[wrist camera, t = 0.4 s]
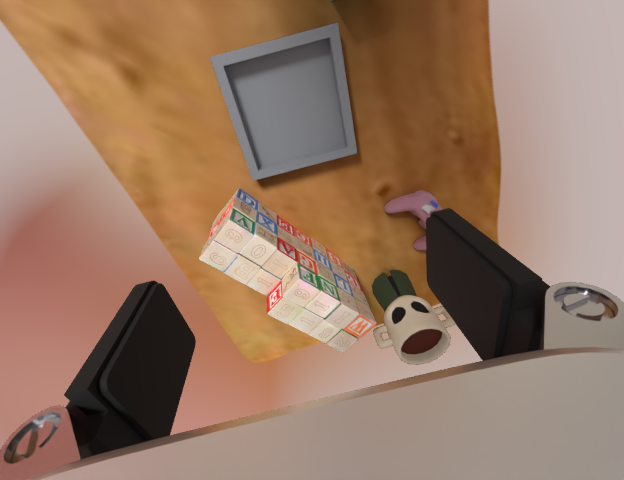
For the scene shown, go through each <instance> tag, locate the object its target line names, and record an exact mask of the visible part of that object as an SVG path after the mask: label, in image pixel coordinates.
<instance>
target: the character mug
mask: <svg viewBox="0 0 624 480" xmlns="http://www.w3.org/2000/svg"><path fill="white" fill-rule="evenodd" d="M390 273H391V275H392V276H389V277H386V275H385V273H382V274H381V275H380V276H378V277H377V278H376V279H375V281H374V283H373V285H372V289H373V294H374V296H375V298H376V299H377V301H378V302H379V304H380V305H381V306H382V308H383V309H384V311H385V313H384V326H381V327H378V328H376V329H374V331H373V334H374V337H375V339H376V342H377V345H378V346H379V347H380V348H386V347H389V346H394V349H395V351H396V353H397V355H398V356H399V358H400V359H401V360H402V361H404V362H406V363H408V364H415V365H419V364H424V363H428V362H430V361H433V360H435V359H437V358H438V357H440V356H441V355H442V354H443V353H444V352H445V351H446V350H447V348H448V347H449V345H450V339H451V337H450V335H449V334H448V332H447V330H446V328H447V327H450V326H453V325H455V324H456V323H455V322H454V320H453V319H452V318H451V316H450V315H449V314H448V312H447V311H446V310H445V308H444V307H443V306H440V307H437V308H434V309H433V308H432V307H431V306H430V304H429V303H428V302H427V301H426V300H424V299H422V298H421V297H417V296H416V293H415V291H414V288H413V286H412V284H411V282H410V280H409V278H408V276H407V275H406V274H405V273H403V272H401V271H400V270H391V271H390ZM440 314H444V316H445V317H446V320H444V321H440V319H439V317H438V316H437V315H440ZM386 332H387V333H388V335H389V337H390V339H386V340H383V338H382V336H381V334H383V333H386Z"/></svg>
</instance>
